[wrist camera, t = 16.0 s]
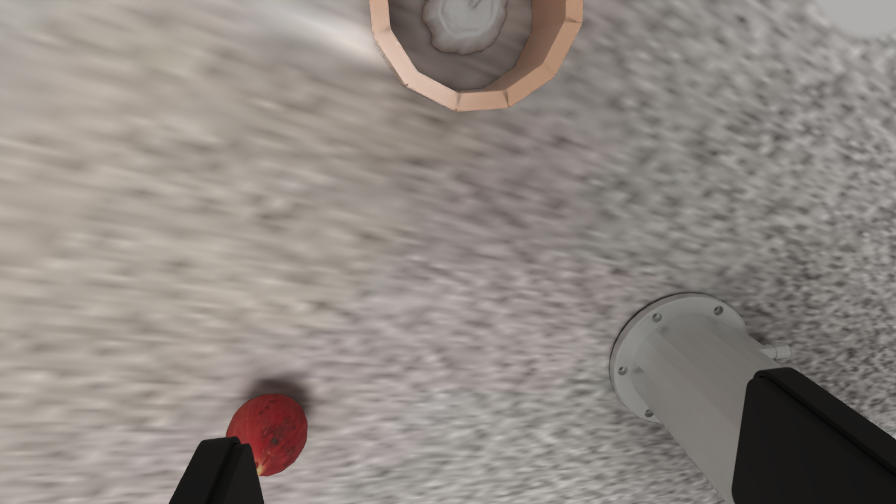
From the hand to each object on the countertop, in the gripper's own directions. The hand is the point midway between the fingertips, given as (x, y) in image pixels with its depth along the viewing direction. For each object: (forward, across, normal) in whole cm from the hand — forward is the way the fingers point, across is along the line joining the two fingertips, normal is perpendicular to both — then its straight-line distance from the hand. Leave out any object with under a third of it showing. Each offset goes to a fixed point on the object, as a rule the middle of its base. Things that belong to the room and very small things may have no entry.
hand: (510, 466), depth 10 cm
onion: (+31, +13, +18) cm, 38 cm away
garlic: (+31, -4, -11) cm, 33 cm away
